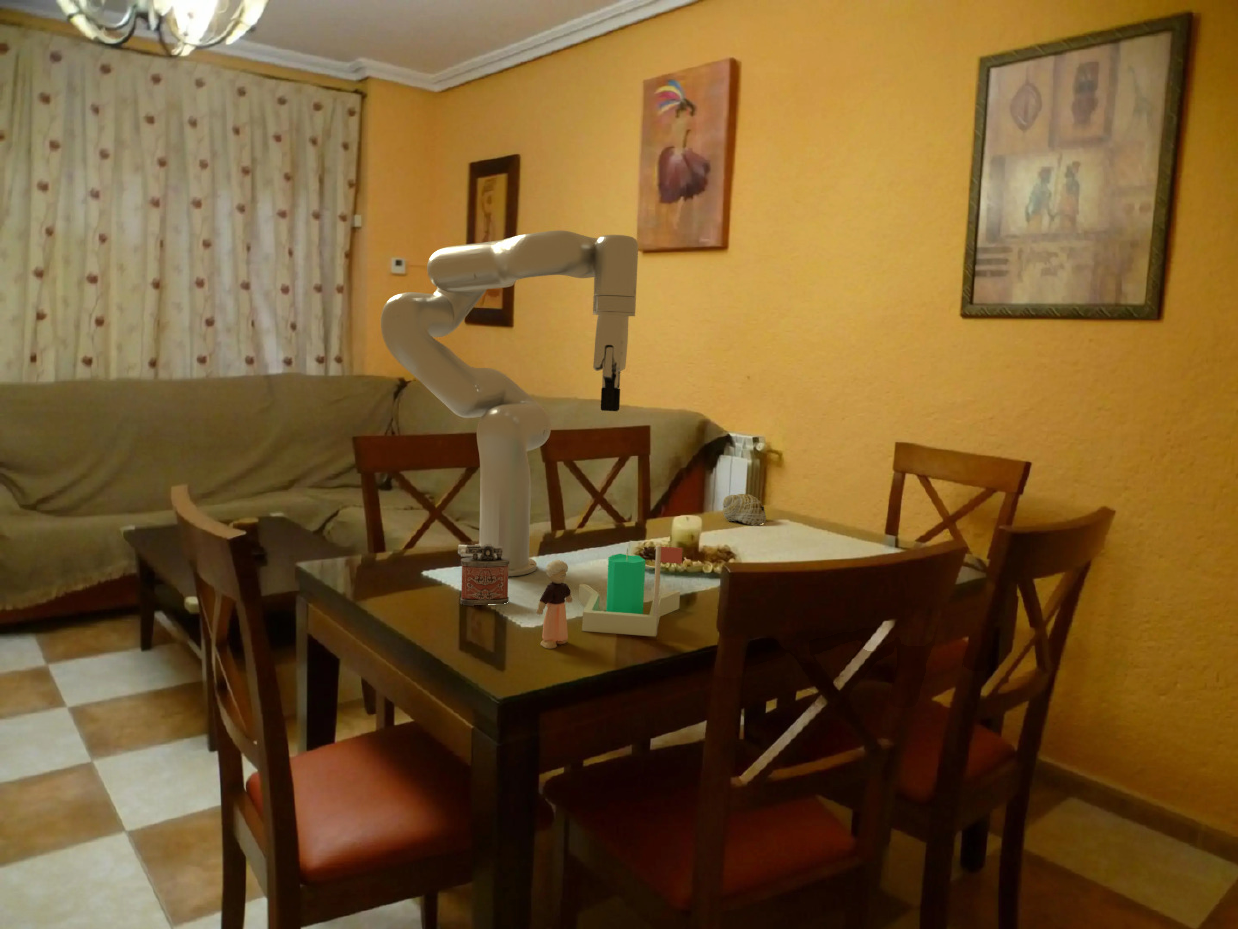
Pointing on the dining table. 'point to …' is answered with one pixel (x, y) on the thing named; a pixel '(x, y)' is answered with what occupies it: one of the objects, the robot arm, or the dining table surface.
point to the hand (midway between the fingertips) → (609, 410)
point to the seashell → (744, 509)
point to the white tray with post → (630, 621)
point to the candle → (625, 584)
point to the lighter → (484, 576)
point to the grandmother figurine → (555, 605)
